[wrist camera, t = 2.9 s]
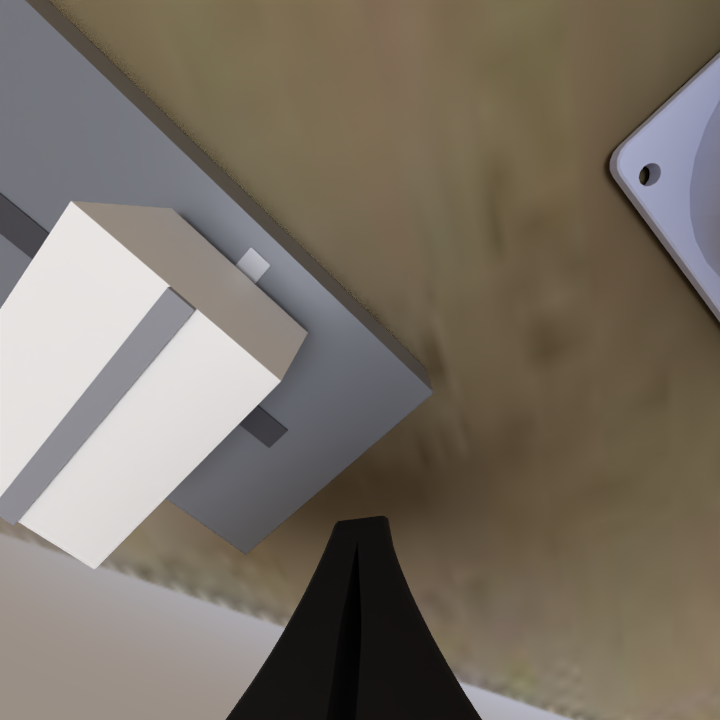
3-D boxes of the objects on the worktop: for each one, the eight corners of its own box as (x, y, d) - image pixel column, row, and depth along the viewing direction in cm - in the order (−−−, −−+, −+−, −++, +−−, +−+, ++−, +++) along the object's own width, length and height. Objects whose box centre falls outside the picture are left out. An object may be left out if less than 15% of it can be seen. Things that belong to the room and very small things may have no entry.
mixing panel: (423, 366, 12) (433, 393, 10) (262, 510, 14) (245, 556, 12) (-261, -301, 8) (-477, -481, 6) (-350, 52, 10) (-531, 9, 8)
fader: (307, 332, 9) (279, 383, 6) (166, 478, 11) (91, 573, 8) (171, 208, 8) (66, 201, 5) (38, 386, 10) (-100, 455, 7)
